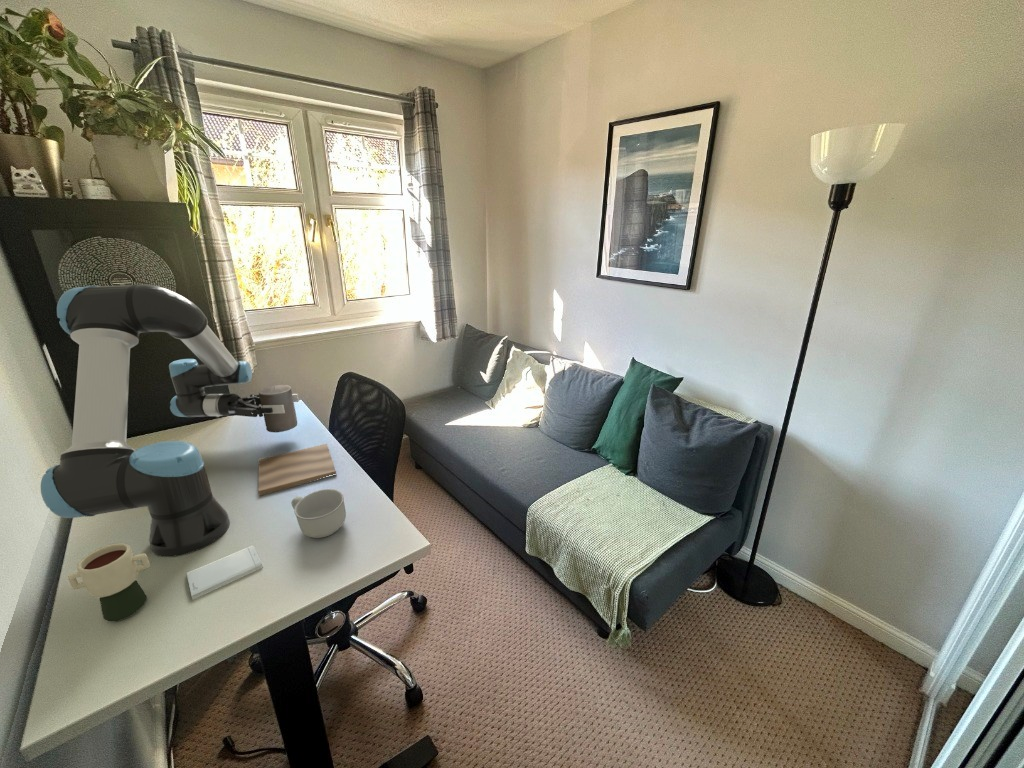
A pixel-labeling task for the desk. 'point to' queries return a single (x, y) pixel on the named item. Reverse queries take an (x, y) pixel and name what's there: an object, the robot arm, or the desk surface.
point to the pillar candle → (279, 397)
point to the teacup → (320, 512)
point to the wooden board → (294, 468)
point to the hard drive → (223, 571)
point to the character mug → (113, 580)
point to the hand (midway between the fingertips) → (291, 403)
